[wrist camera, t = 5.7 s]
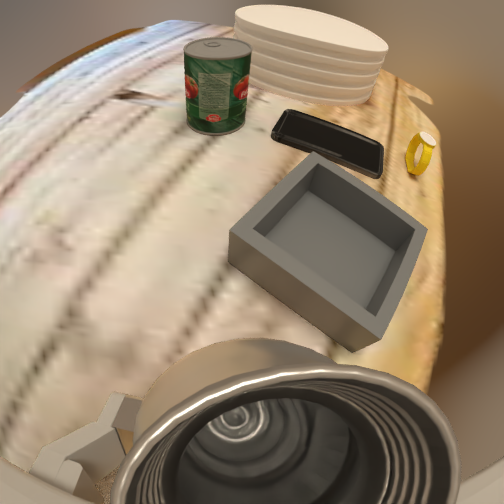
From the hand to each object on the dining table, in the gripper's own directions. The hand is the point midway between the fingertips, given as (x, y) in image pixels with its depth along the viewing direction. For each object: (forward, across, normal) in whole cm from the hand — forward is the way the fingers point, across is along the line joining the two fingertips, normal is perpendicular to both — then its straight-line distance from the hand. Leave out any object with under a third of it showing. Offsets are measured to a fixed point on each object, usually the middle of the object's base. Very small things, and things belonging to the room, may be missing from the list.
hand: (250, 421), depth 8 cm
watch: (+30, -23, -12) cm, 40 cm away
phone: (+31, -10, -13) cm, 35 cm away
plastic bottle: (+8, 0, +9) cm, 13 cm away
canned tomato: (+33, +5, -15) cm, 36 cm away
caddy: (+18, -8, -1) cm, 20 cm away
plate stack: (+48, -8, -30) cm, 58 cm away
